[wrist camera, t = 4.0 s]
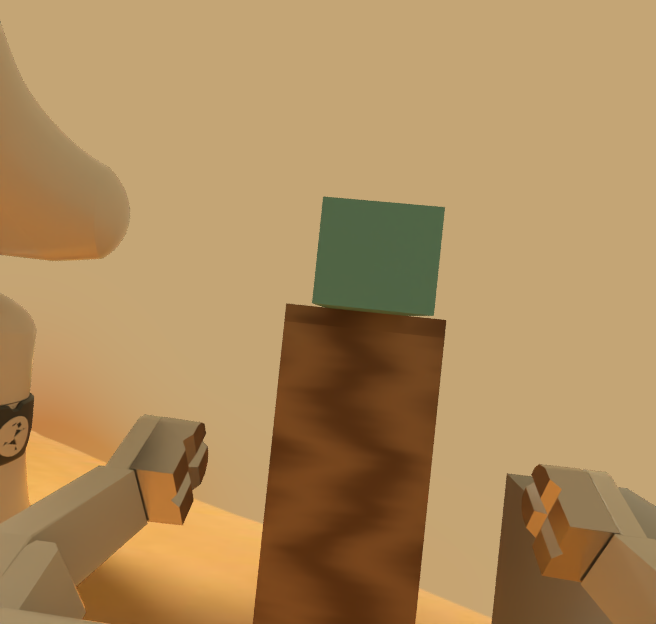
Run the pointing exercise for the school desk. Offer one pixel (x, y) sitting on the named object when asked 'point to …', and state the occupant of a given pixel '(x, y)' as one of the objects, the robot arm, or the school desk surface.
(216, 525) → the school desk surface
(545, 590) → the step
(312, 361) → the bookcase block
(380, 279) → the book
